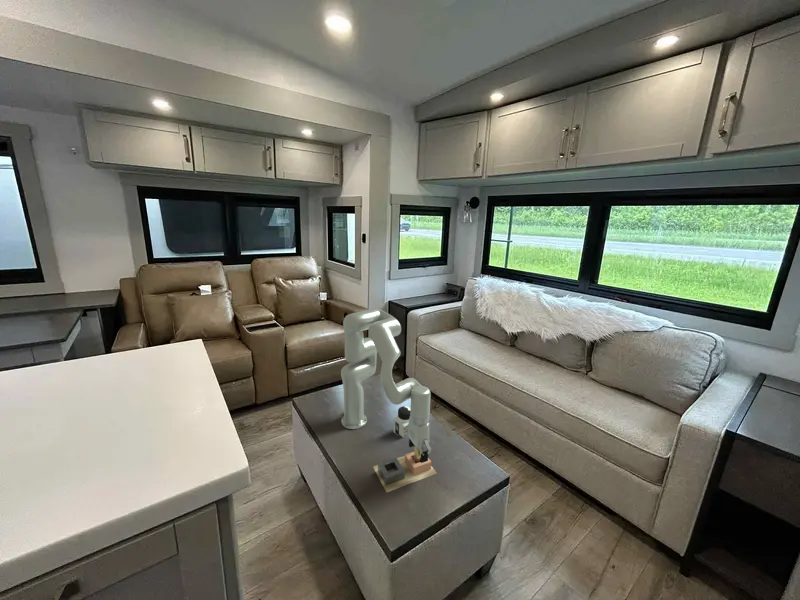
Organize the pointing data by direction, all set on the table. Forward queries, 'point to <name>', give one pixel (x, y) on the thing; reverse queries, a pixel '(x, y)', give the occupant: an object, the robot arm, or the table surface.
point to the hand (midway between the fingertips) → (418, 453)
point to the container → (402, 421)
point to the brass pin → (417, 454)
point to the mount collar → (392, 476)
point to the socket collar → (416, 464)
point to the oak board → (408, 476)
